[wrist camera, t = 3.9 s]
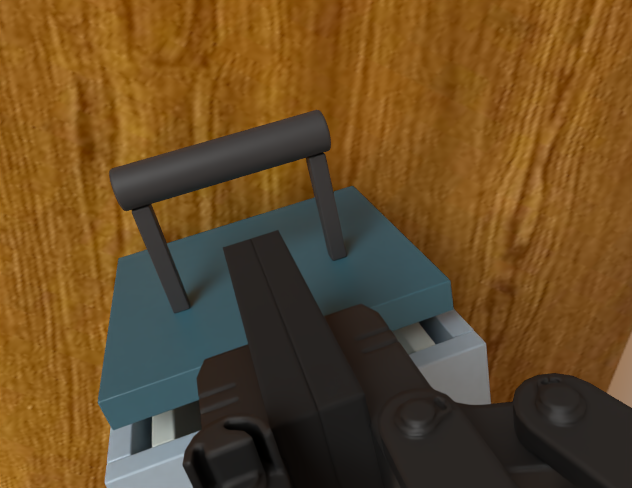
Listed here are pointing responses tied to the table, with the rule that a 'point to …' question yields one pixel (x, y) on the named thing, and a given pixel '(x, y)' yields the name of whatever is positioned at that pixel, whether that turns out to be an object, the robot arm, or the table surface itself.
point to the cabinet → (433, 362)
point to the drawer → (214, 279)
